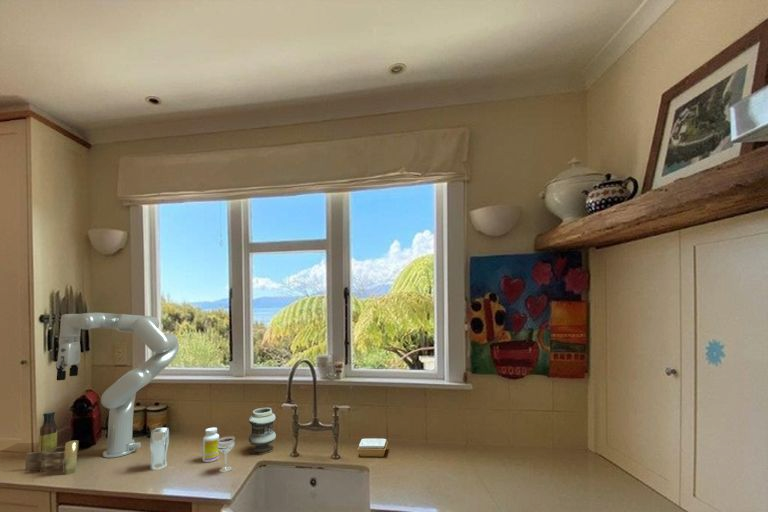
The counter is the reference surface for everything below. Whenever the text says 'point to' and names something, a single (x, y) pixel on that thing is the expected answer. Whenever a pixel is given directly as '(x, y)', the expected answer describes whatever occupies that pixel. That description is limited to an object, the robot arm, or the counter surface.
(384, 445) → the soap dish
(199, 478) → the counter surface
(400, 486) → the counter surface
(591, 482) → the counter surface
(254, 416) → the apothecary jar
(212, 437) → the supplement bottle
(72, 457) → the brass pin
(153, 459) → the beer glass
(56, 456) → the wooden crate
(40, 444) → the sauce bottle
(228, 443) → the wineglass
